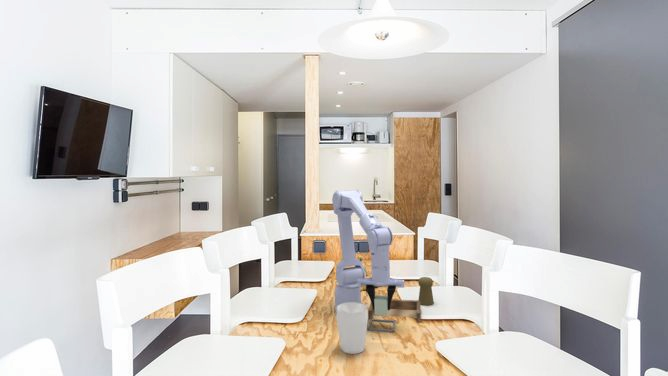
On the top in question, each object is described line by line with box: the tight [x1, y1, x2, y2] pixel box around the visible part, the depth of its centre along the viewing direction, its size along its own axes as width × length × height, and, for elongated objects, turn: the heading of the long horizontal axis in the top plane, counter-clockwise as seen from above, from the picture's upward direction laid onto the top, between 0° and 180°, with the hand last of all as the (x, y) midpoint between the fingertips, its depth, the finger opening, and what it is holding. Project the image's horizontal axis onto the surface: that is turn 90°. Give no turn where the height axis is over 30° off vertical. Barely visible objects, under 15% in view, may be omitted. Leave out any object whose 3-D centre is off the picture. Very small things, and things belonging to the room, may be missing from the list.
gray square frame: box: [366, 318, 397, 333], centre depth 118 cm, size 8×8×2 cm
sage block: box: [374, 294, 389, 317], centre depth 118 cm, size 4×4×5 cm
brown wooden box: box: [367, 298, 422, 323], centre depth 128 cm, size 17×12×4 cm
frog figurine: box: [358, 257, 383, 291], centre depth 163 cm, size 10×18×15 cm, turn 86°
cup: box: [335, 302, 369, 355], centre depth 106 cm, size 9×9×12 cm
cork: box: [417, 276, 435, 307], centre depth 138 cm, size 6×6×11 cm
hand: (381, 308), depth 118 cm, fingers closed on sage block, 4 cm apart
